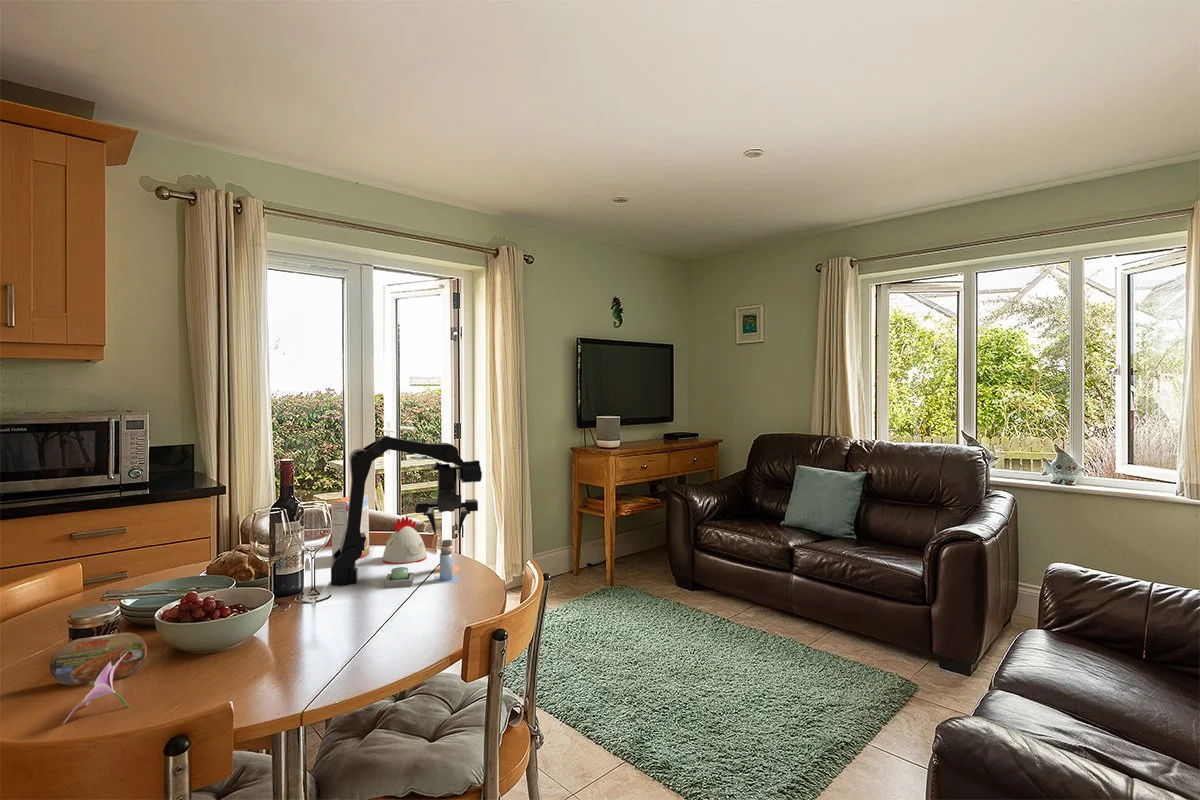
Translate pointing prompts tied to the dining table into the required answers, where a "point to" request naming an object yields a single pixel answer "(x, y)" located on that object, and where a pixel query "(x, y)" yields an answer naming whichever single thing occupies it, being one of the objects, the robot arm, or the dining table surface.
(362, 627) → the dining table surface
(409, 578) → the cream board with squares
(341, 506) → the cracker box
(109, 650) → the tin
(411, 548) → the kitchen timer
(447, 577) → the blue bottle
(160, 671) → the dining table surface
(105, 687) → the lily
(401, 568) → the button
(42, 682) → the dining table surface
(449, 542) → the terracotta marker
